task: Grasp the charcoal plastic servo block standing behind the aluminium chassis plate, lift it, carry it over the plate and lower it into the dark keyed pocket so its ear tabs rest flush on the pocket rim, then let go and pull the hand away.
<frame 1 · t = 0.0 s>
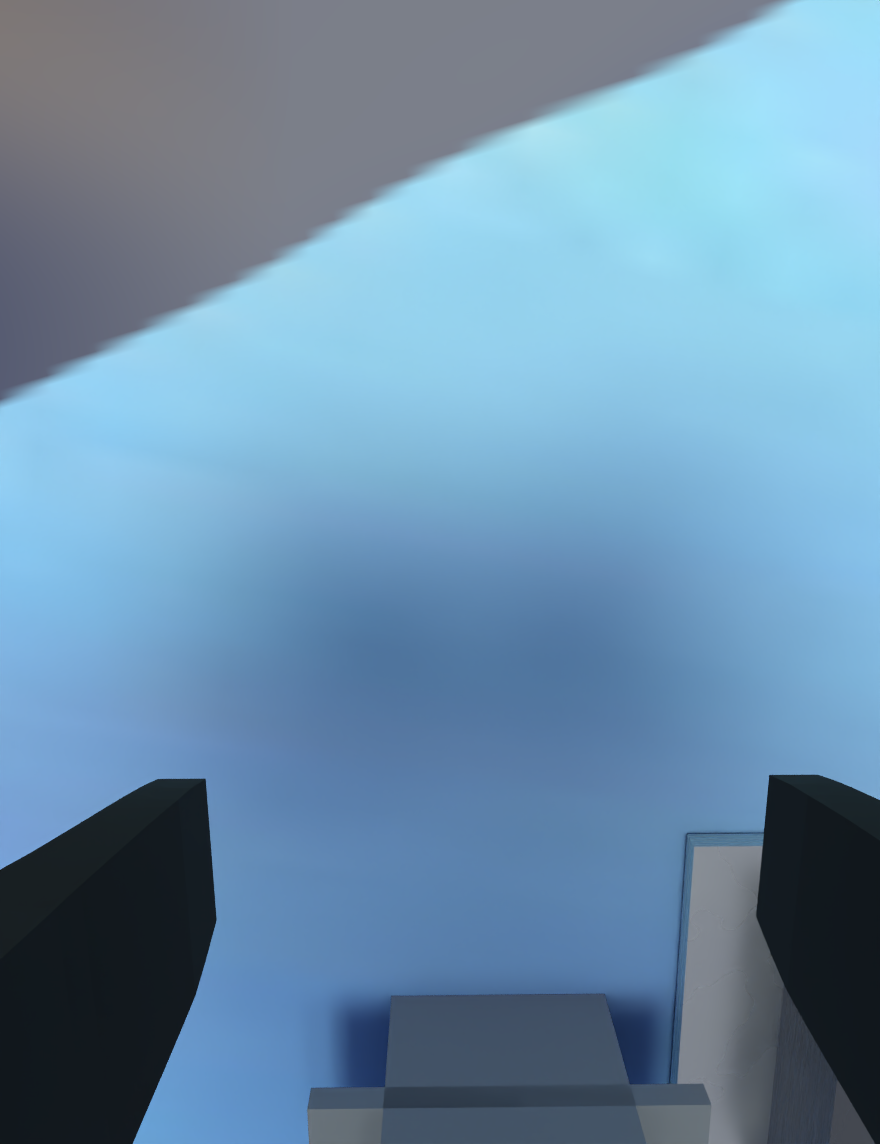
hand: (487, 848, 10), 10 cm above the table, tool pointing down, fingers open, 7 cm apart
servo: (497, 1053, 23), on the table
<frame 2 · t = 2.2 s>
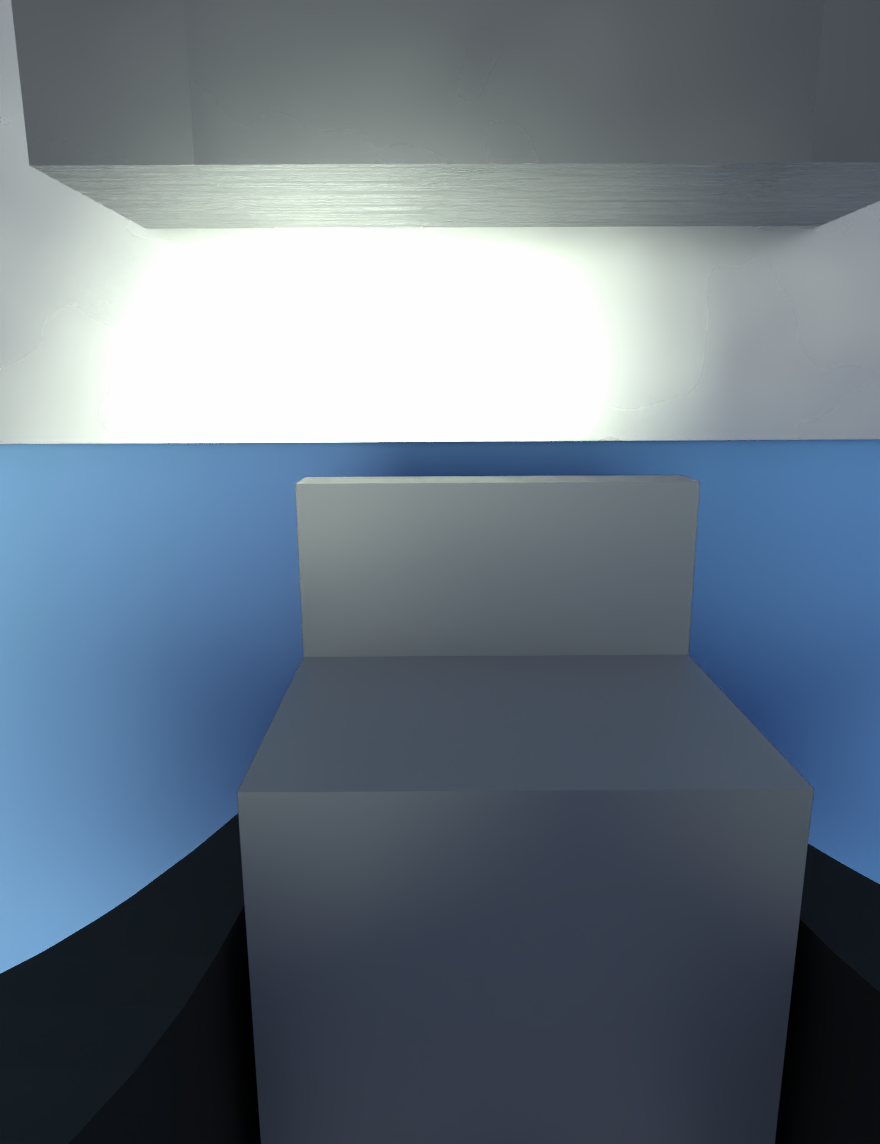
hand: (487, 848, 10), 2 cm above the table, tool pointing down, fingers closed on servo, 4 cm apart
servo: (477, 761, 13), on the table, touching gripper
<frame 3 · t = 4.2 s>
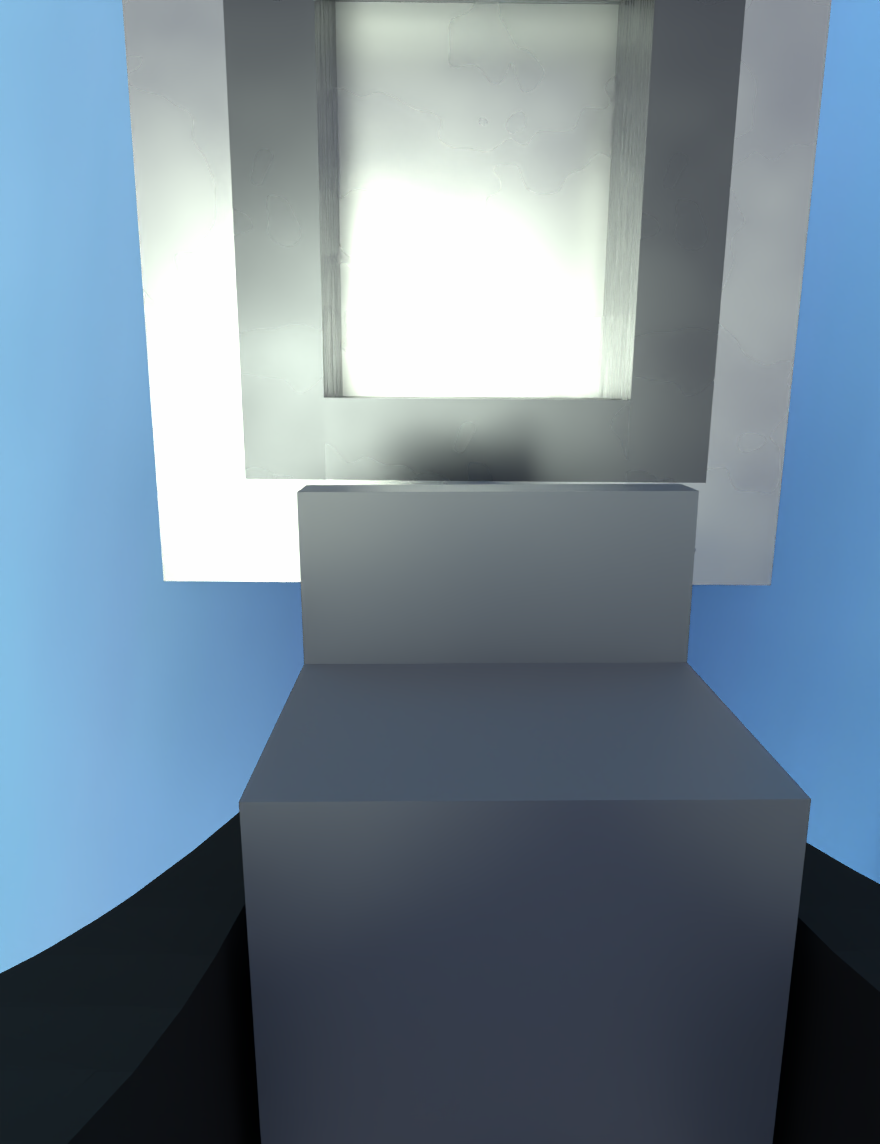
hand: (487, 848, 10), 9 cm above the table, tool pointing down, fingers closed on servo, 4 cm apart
chassis: (472, 216, 17), on the table
servo: (476, 766, 13), point 7 cm above the table, touching gripper
when the fingers open (4 cm above the table, at t = 6.5 s): servo drops 1 cm, resting on chassis.
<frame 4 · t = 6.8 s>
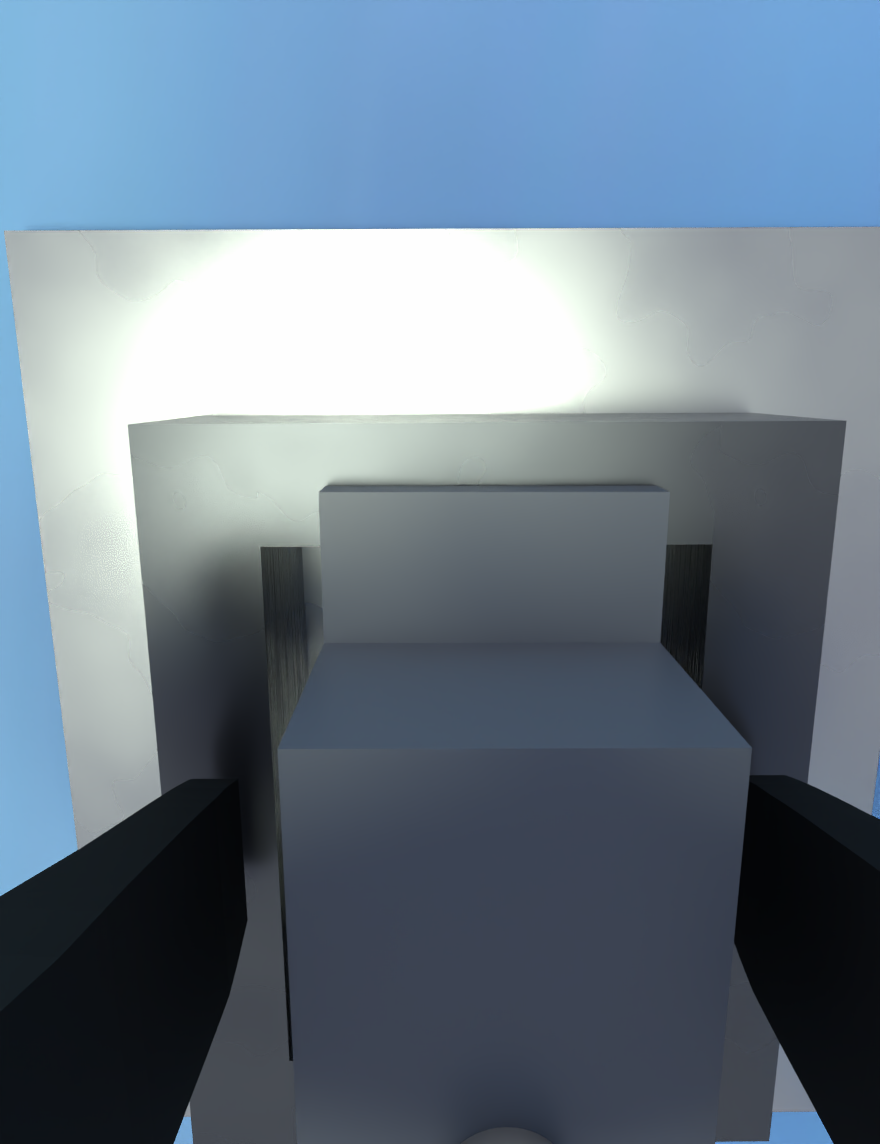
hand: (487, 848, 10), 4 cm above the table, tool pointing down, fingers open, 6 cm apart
chassis: (472, 715, 14), on the table
servo: (475, 743, 14), point 1 cm above the table, touching chassis
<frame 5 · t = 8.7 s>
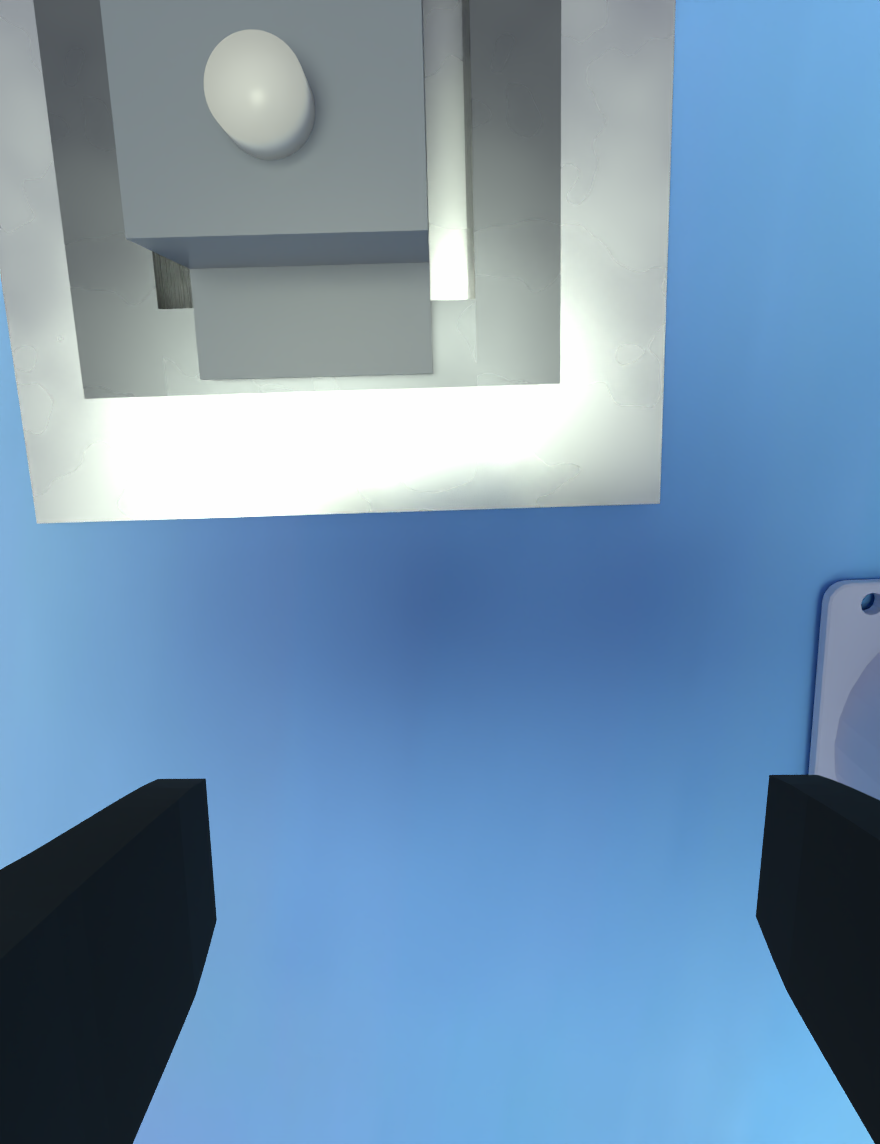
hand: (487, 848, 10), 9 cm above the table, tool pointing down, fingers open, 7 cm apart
chassis: (329, 130, 17), on the table
servo: (327, 135, 16), point 1 cm above the table, touching chassis
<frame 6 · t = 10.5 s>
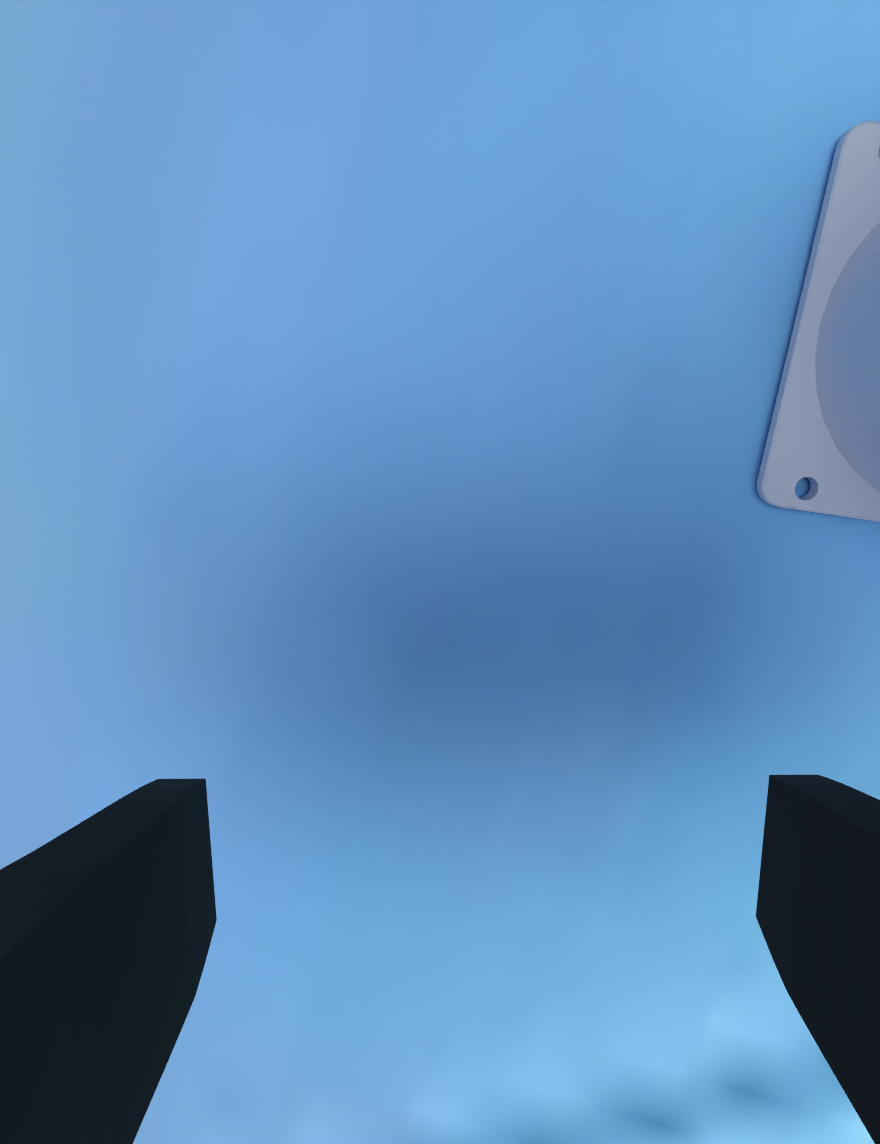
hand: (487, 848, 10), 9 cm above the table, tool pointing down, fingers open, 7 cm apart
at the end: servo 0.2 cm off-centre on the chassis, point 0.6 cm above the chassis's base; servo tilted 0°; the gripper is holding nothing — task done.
